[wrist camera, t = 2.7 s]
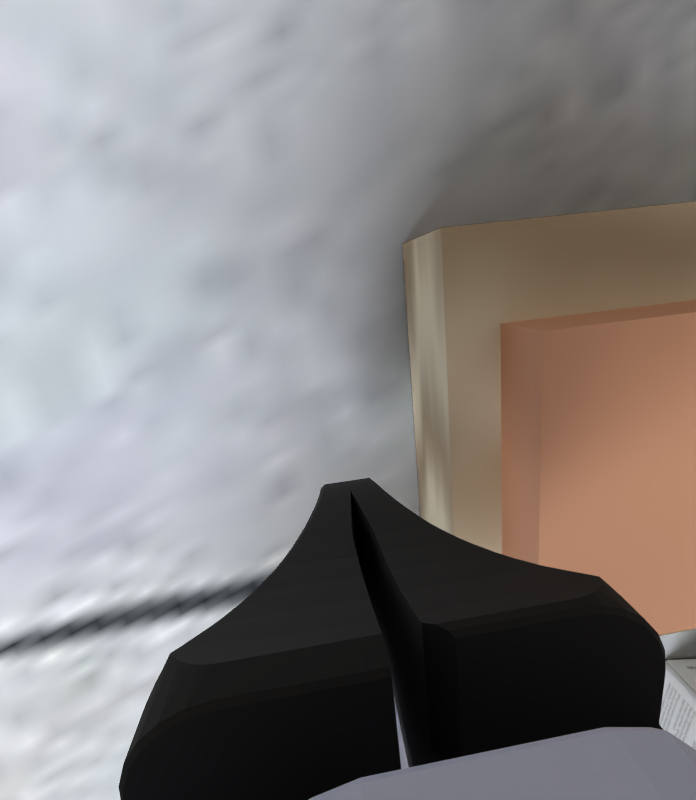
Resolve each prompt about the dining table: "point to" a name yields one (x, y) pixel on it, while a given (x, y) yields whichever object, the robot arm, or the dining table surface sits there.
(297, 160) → the dining table surface
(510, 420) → the block
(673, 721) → the ink box
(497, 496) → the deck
